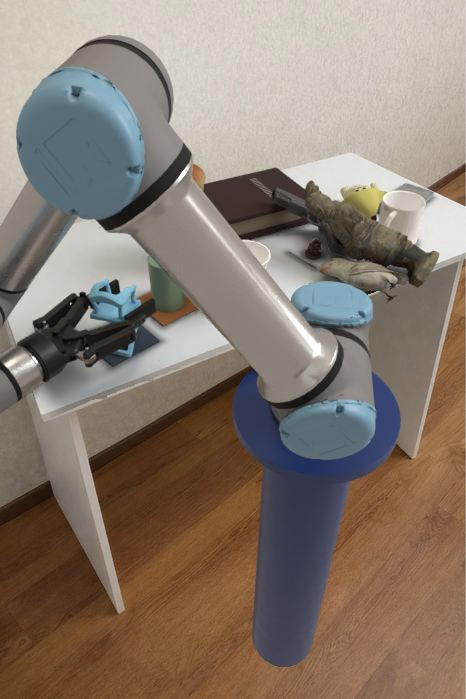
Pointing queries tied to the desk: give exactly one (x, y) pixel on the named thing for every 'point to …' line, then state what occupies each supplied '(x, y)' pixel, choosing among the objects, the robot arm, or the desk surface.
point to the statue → (370, 237)
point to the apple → (198, 176)
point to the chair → (113, 307)
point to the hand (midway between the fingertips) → (135, 295)
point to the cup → (259, 252)
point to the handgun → (308, 218)
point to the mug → (403, 212)
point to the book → (255, 202)
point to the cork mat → (170, 317)
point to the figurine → (313, 250)
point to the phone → (415, 189)
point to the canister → (164, 289)
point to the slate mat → (141, 344)
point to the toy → (364, 198)
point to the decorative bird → (364, 275)
